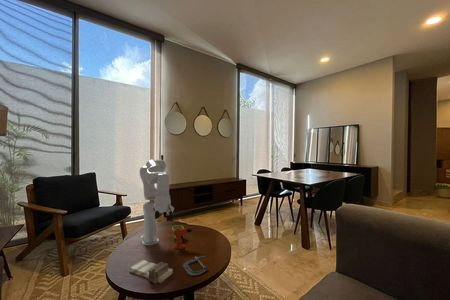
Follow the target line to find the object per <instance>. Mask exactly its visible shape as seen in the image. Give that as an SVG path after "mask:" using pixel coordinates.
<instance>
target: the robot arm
mask: <svg viewBox="0 0 450 300" xmlns="http://www.w3.org/2000/svg"><path fill="white" fill-rule="evenodd" d="M166 163H167V162H166V160H164V159H150V160H148V161H147V162H146V163H145V165H144V166H141V167H140V168H139V176H140V179H141V181H142V185H143V197H144V199H145V201H147V202H144V204H143V206H142V210H143V211H142V212H143V219H144V221H143V223H144V224H143V225H144V226H143V234H142V235H141V237H140V238H141V239H142V240H141V244H142V245H144V246H154V245H157V244H158V243H160V240H159V238H158V219H159V218H160V214H162V213H166V214H167V215H166V222H169V221H171V220H172V214H173V213H174V210H175V207H174V206H173V205H172V204H171V203H172V201H171V195H170V175H169V173H168V172H167V171H165V170H166V167H167V164H166ZM155 184H156V187H155Z"/></svg>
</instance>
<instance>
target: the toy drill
mask: <svg viewBox="0 0 450 300" xmlns="http://www.w3.org/2000/svg"><path fill="white" fill-rule="evenodd" d="M198 230H199V229H198V228H194V229H193V228H185V227H184V228H183V229H179V228H177V229H176V230H175V231H174V234H173V236H174V235H175V236H176V239H175V240H176V243H175V244H174V247H173V248H174V249H175V250H184V249H185V248H186V245H185V244H183V242H184V240H185V238H184V237H183V236H184V235H186V234H188V233H189V234H190V233H191V232H194V231H198Z"/></svg>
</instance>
